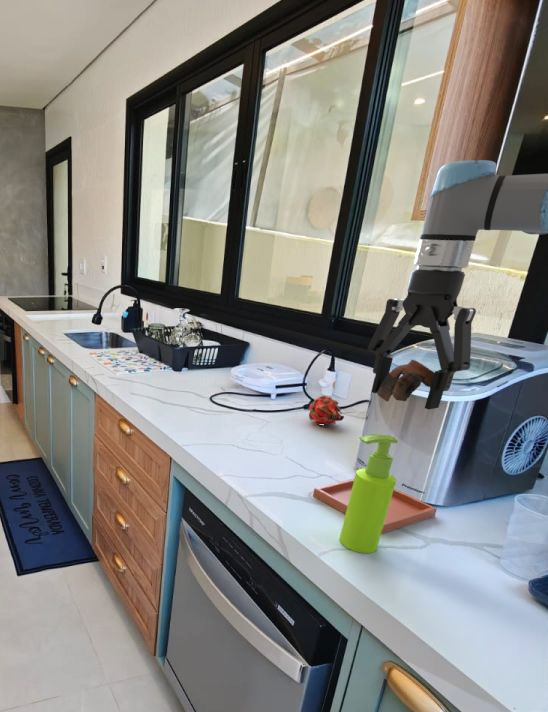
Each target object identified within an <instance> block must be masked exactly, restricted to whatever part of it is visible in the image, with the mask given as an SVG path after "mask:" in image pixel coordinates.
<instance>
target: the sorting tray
mask: <svg viewBox="0 0 548 712" xmlns="http://www.w3.org/2000/svg"><path fill="white" fill-rule="evenodd" d="M354 479H355V477H354V478H349V479H345V480H342V481H338V482H334V483H330V484H326V485H322V486H318V487H314V489H313V492H312V497H314V498H316V499H317V500H319V501H321V502H323V503H324V504H327V505H328V506H329V507H332V508H334V509H335V510H337V511H339V512H341V513H343V514H344V515H346V511H347V507H348V503H349V499H350V495H351V491H352V487H353V483H354ZM437 511H438V508H437V507H435V506H433V505H430V504H429V503H426V502H425V501H422V500H420V499H418V498H417V497H413V496H412V495H409V494H407V493H405V492H403V491H400V490H399V489H396V488H394V490H393V494H392V497H391V501H390V504H389V508H388V511H387V515H386V518H385V522H384V525H383V529H382V532H381V535H382V534H386V533H389V532H392V531H394V530H398V529H400V528H404V527H408V526H410V525H413V524H416V523H419V522H422V521H425V520H429V519H431V518H434V517H435V516H436V513H437Z"/></svg>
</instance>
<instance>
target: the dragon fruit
mask: <svg viewBox="0 0 548 712" xmlns="http://www.w3.org/2000/svg"><path fill="white" fill-rule="evenodd" d="M308 410H309V413H308V418H309V420H310V421H314V422H315V423H316V424H317V425H318V424H325V425H326V424H327V425H331V426H332V425H334V424H336V423H337V422H340V421H343V420H344V418H345V416H344V415H342V414H343V412H342V411H341V407H340V406H339V402H338V401H337V400H335V399H333V398H332V397H331V396H328V395H327V396H326V395H320V396H319V397H317V398H315V399H314V400H313V401H312V402H311V403H310V404H309V407H308ZM325 425H322V426H321V427H323V426H325Z"/></svg>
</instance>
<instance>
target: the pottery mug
mask: <svg viewBox="0 0 548 712" xmlns="http://www.w3.org/2000/svg"><path fill="white" fill-rule="evenodd" d="M434 374H435V371H433V370H431V369H429V368H428V367H427V366H426V365H424V364H423V363H422V362H419V361H417V360H416V359H410V361H409V362H408V363H405V364H400V365H398V366H396V367H395V368H393V369H392V370H390V371H389V374H388V375H387V377H385V379H384V380H383V382H382V383H381V386H380V388H379V390H378V391H377V393H376V394H377V396H378V397H380V398H381V399H382V400H384V401H385V402H389V401H390V399H391V396H392V398H394V399H395V400H396V401H400V402H407V400H408V399H409V398H410V397H411V395H413V393H414V392H415V391H416V390H417V389H418V388H420V386H421V385H422V384H423V385H424V386H425V387H428V388H429V389H430V388H431V384H432V381H433V377H434ZM443 395H444V393H443V394H442V396H443ZM442 398H443V397H442ZM442 398H441V400H442Z"/></svg>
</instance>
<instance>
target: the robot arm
mask: <svg viewBox="0 0 548 712" xmlns="http://www.w3.org/2000/svg"><path fill="white" fill-rule="evenodd" d="M496 170H497V163H496V162H495V161H493V160H488V159H487V160H485V159H479V160H474V159H473V160H472V159H468V160H457V161H452V162H448V163H445V164H444V165H443V166H441V167H440V168H439V170H438V172H437V175H436V178H435V181H434V184H433V188H432V191H431V194H429V199H428V204H427V210H426V213H425V217H424V222H423V226H422V230H421V234H420V237H419V241H418V246H417V249H416V253H415V258H414V261H413V265H414V266H416V268H415V269H413V270H412V271H410V272H411V273H410V277H409V280H408V284H407V288H406V289H407V294H406V296H405V297H404V299H401V298H389V299H387V301H386V304H385V310H384V314H383V315H382V318H381V319H380V322H379V323H378V325H377V327H376V330H375V331H374V334H373V336H372V337H371V340H370V341H369V344H368V345H367V351H368V352H370V353H373V354H374V355H375V360H374V364H373V368H372V373H373V374H375V375H374V379H373V384H372V387H371V393H373V394H377V391H378V390H379V388H380V386H381V383H382V382H383V380H384V379H385V377H387V375H388V374H389V373H390V372H391V367H392V364H393V360H394V357H391V356H392V354H391V353H392V352H394V350H395V349H396V347H397V346H398V345H399V344H400V343H401V342H402V341H403V339H404V338H406V336H407V335H408V333H410V331H411V330H412V329H413V328H415V327H417V326H421V327H423V328H426V329H427V328H428V329H429V332H430V333H431V334H432V338H433V342H434V346H435V350H436V353H437V354H436V355H437V359H438V361H439V362H438V363H439V366H440V369H438V370H435V371H434V373H435V374H434V377H433V381H432V384H431V388H430V387H429V391H428V395H427V398H426V402H425V405H424V409H426V410H434V409H439V407H440V404H441V401H442V399H441V398H443V395H444V392H448V391H449V390H450V388H451V386H452V382H453V379H454V376H455V374H456V373H457V372H462V371H468V370H470V369H471V355H472V351H471V350H472V323H473V321H474V318H475V315H476V313H477V310H476V308H475V307H463V306H460V305H459V306H458V297H459V295H460V293H461V290H462V286H463V283H464V279H465V277H466V274H465V272H464V271H463V269H466V268H468V267H469V263H470V260H471V257H472V252H473V249H474V245H475V241H476V239H477V234H478V232H479V231H510V232H511V231H514V232H523V233H525V234H527V235H538V236H539V235H547V234H548V173H535V174H533V173H532V174H515V175H508V174H507V175H506V174H505V175H502V174H497V171H496ZM402 310H403V311H404V313H405V314H404V315H403V316H402V317H401V319H400V320H399V321H398V322H397V326H395V328H394V329H393V327H394V325H395V324H396V321H397V320H398V317H400V316H399V315H400V313H401V311H402ZM452 316H453V319H454V320H455V321H454V328H453V329H454V331H453V332H454V333H453V334H454V335H453V343H452V339H451V334H450V330H451V326H450V323H449V322H450V321H449V318H450V317H452ZM442 394H443V395H442Z"/></svg>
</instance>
